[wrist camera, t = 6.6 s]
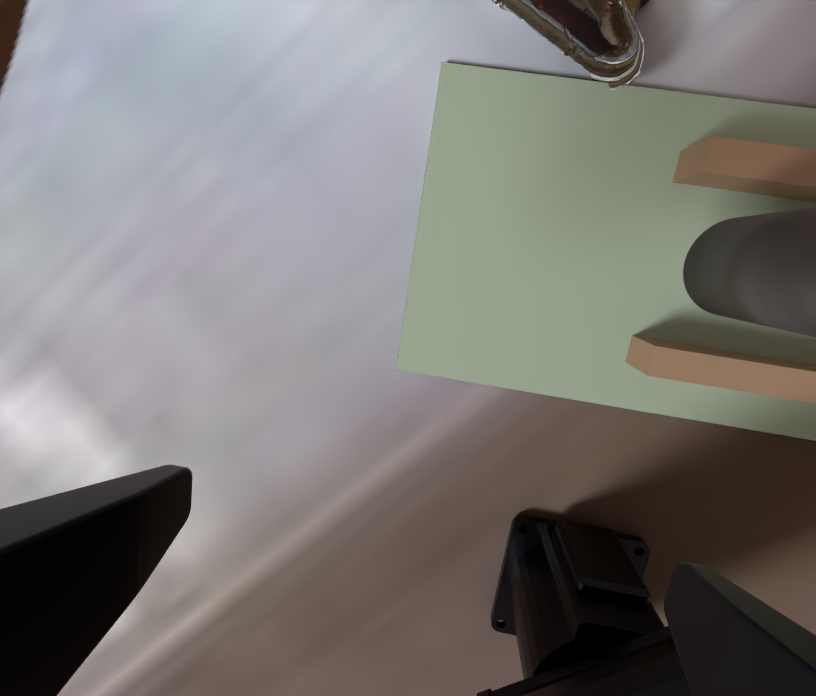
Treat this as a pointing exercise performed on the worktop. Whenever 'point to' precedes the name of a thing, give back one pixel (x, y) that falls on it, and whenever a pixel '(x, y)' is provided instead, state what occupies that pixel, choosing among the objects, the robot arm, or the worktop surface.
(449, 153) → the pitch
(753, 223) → the sled
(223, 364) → the worktop surface
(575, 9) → the chocolate cake
